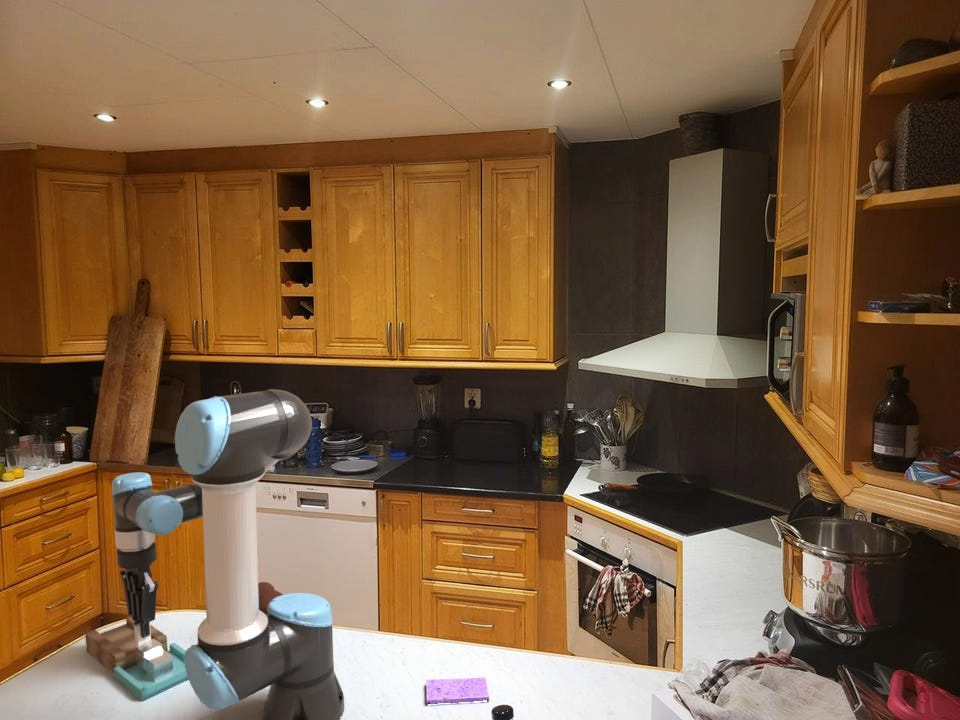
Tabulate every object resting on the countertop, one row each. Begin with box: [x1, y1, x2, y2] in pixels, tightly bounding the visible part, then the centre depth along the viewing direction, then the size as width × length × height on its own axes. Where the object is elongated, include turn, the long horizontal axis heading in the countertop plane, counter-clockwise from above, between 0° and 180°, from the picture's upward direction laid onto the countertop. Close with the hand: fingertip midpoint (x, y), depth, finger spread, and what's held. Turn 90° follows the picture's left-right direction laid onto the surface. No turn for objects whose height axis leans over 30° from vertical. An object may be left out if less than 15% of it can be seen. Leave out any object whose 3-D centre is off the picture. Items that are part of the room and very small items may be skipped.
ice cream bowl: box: [258, 581, 284, 615], centre depth 154 cm, size 11×11×15 cm
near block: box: [145, 650, 174, 682], centre depth 143 cm, size 4×4×4 cm
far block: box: [135, 639, 163, 670], centre depth 145 cm, size 4×4×4 cm
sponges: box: [425, 676, 490, 706], centre depth 137 cm, size 7×13×2 cm, turn 94°
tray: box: [113, 642, 189, 702], centre depth 144 cm, size 13×13×2 cm
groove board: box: [84, 615, 169, 675], centre depth 153 cm, size 16×11×4 cm
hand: (143, 648), depth 147 cm, fingers closed
